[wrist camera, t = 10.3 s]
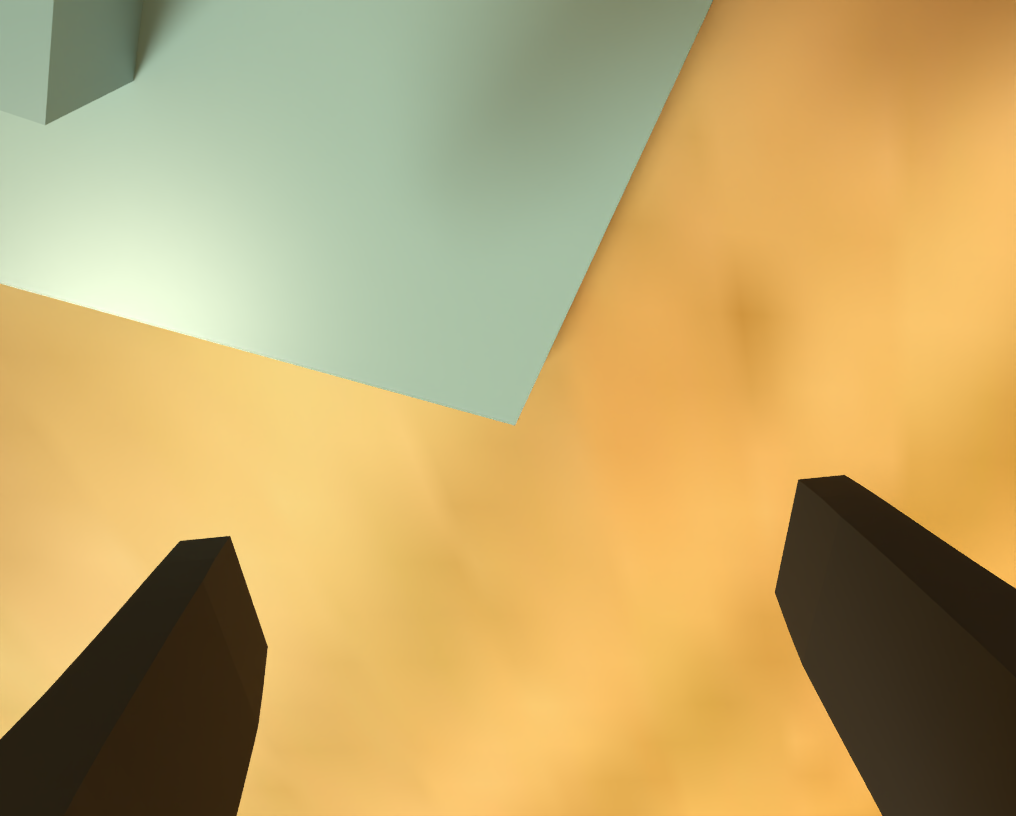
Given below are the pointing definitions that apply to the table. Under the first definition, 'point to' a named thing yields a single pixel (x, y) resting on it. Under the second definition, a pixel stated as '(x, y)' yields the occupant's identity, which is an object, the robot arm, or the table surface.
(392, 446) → the table surface
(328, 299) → the lid
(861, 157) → the table surface
